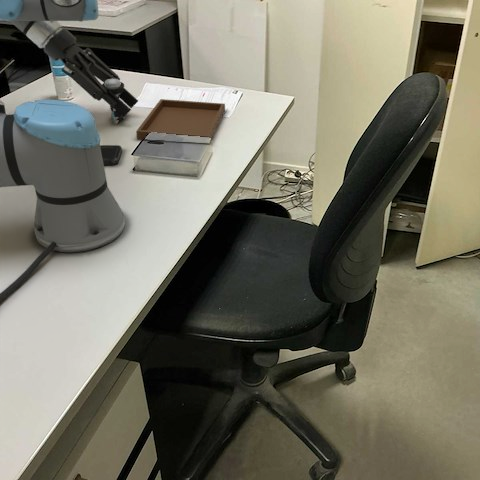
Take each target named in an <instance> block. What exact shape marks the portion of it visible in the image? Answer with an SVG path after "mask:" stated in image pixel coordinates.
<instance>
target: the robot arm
mask: <svg viewBox="0 0 480 480" xmlns="http://www.w3.org/2000/svg"><path fill="white" fill-rule="evenodd" d="M99 13H100V12H99V3H98V0H0V21H1V22H10V23H11V24H12V25H13V26H15V27H16V28H17V29H18V30H20V32H22V33H23V34H24V36H26V37H27V38H28V39H29V40H30V41H31V42H33V44H35V45H36V46H37V47H38V48H39V49H43V52H44V53H45V54H46V55H47V56H48V57H50V58H51V60H53V61H54V62H59V61H61V62H62V64H63V65H64V66H63V67H62V68H61V72H62V73H63V74H65V75H66V76H68V77H69V78H71V80H73V81H74V82H75V83H76V84H77V85H78V86H79V87H81V88H82V89H83V90H84V91H85V92H86V93H87V94H88V95H89V96H90V97H92V98H93V99H94V100H97V101H99V102H100V101H101V100H103V101H104V102H106V103H107V104H108V105H109V107H110V106H111V107H113V108H114V109H115V110H116V111H117V112H118V113H119V114H120V115H122V116H123V117H124V116H125V117H126V116H127V115H128V113H130V111H132V108H134V106H135V105H136V104H137V103H138V102H139V100H138V98H136V97H135V96H134V95H133V94H132V93H131V92H129V90H128V89H126V88H125V87H124V91H123V92H122V93H121V94H119V95H118V96H119V98H118V97H117V96H116V95H114V94H113V93H112V92H111V91H109V92H108V91H107V90H106V89H105V88H104V86H103V85H102V84H103V83H105V81H106V80H107V79H118V80H121V78H120V76H119V75H118V74H117V73H116V72H115V71H114V70H113V69H112V68H110V66H108V65H107V64H106V63H105V62H103V61H102V59H100V58H99V57H98V56H97V55H96V54H95V53H94V52H93V50H92V49H91V48H89V47H86V49H82V48H81V47H79V46H78V45H76V43H77V41H78V40H77V37H76V36H74V35H73V34H72V33H71V32H70V31H69V30H68V29H66V28H63V25H62V24H61V23H60V22H81V23H82V22H86V21H87V22H88V21H96V20H97V19H98V18H99ZM99 80H100V81H99ZM101 82H102V83H101ZM107 92H108V93H107ZM123 117H122V118H123ZM98 131H99V130H98V127H97V124H96V120H95V118H94V116H93V114H92V113H91V112H90V111H89V110H88V109H86V108H85V107H83V106H82V105H79V104H77V103H74V102H71V101H65V100H60V99H36V100H34V101H26V102H23V103H21V104H19V105H18V106H16V108H15V110H14V113H13V114H7V112H6V106H5V103H4V102H3V101H2V100H0V188H9V187H22V186H33V189H34V190H35V195H36V204H35V205H36V206H35V212H34V221H33V231H34V235H35V238H36V240H37V243H38V244H39V245H41V247H44V248H45V249H44V250H43V251H42V252H41V253H40V254H39V255H38V256H37V257H36V258H35V260H34V261H33V262H32V263H31V264H30V265H29V266H28V267H27V268H26V269H25V270H24V271H23V273H22V274H20V276H18V277H17V279H15V280H14V281H13V282H12V283H11V284H10V285H8V286H7V287H6V288H4V290H2V291H1V292H0V303H2V302H3V301H4V300H5V299H6V298H7V297H8V296H9V295H10V294H12V293H13V292H14V291H15V290H16V289H18V288H19V286H21V285H22V284H23V283H24V282H25V281H26V280H27V279H28V278H29V277H30V276H31V275H32V274H33V273H34V272H35V271H36V269H37V268H38V267H39V266H40V265H41V264H42V263H43V261H44V260H45V259H46V258H47V257H49V255H50V254H51V253H52V252H53V251H54V252H59V253H81V252H86V251H87V252H88V251H91V250H94V249H98V248H100V247H103V246H105V245H108V244H109V243H111V242H113V241H115V240H116V239H117V238H118V237H119V236H120V235H121V234H122V233H123V231H124V229H125V225H126V222H125V215H124V212H123V210H122V208H121V206H120V204H119V203H118V201H117V200H116V198H115V197H114V194H113V193H112V191H111V190H110V188H109V185H108V181H107V180H108V179H107V176H106V170H105V165H104V164H103V159H102V153H101V148H100V145H101V144H100V143H101V137H100V134H99V132H98Z"/></svg>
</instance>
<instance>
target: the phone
mask: <svg viewBox="0 0 480 480" xmlns="http://www.w3.org/2000/svg"><path fill="white" fill-rule="evenodd" d="M122 147H123V146H121V145H117V144H115V145H113V144H102V145H101V144H100V148H101V153H102V159H103V164H104V166H115V165H117V164H118V163H119V161H120V159H121V156H122V154H123V148H122Z"/></svg>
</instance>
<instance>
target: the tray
mask: <svg viewBox="0 0 480 480" xmlns="http://www.w3.org/2000/svg"><path fill="white" fill-rule="evenodd" d="M225 112H226V103H223V102H222V103H221V102H220V103H219V102H206V101H194V100H193V101H191V100H178V99H165V98H163V99H162V98H161V99H159V101H158V102H157V103H156V104H155V106H154V107H153V109H152V110H151V111H150V112H149V114H148V115H147V117H146V118H145V119H144V120H143V121H142V123H141V124H140V126H139V127H138V128H137V129H136V140H140V141H144V140H143V139H144V138H145V137H146V135H147V134H149V133H151V132H157V133H166V134H176V135H188V136H200V137H209V138H211V141H212V140H213V138H214V136H215V134H216V131H217V129H218V127H219V126H220V123H221V121H222V119H223V117H224V114H225Z"/></svg>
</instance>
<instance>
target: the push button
mask: <svg viewBox="0 0 480 480" xmlns="http://www.w3.org/2000/svg"><path fill="white" fill-rule="evenodd" d="M120 80H121V79H120ZM120 80H118V79H107V80H106V81H105V83H104V82H102V83H101V84H102V85H103V86H104V88H105V89H106V90H107V91H108V92H109V91H111V92H112V93H113V94H114V95H116V96H117V97H118V98H119V96H118V95H119V94H121V93H122V92H123V91H124V88H125V83H124V82H122V81H120ZM108 92H107V93H108ZM119 99H120V98H119ZM109 108H110V111H111V112H110V114H111V115H110V116H111V119H112V123H113V124H118V123H121V121H122V119H125V117H126V115H125V116H124V117H123V116H122V115H120V114H119V113H118V112H117V111H116V110H115V109H114V108H113V107H111V106H110V105H109Z"/></svg>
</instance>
